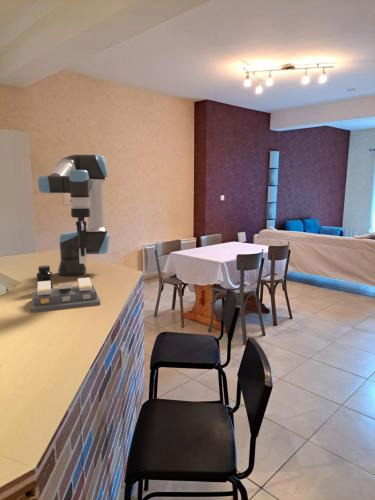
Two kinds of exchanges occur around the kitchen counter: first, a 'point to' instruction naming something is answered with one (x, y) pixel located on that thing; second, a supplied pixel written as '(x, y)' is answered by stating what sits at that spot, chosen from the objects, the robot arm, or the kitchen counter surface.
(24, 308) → the kitchen counter surface
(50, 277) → the supplement bottle
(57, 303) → the switch unit
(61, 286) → the rocker
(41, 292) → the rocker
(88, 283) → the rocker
